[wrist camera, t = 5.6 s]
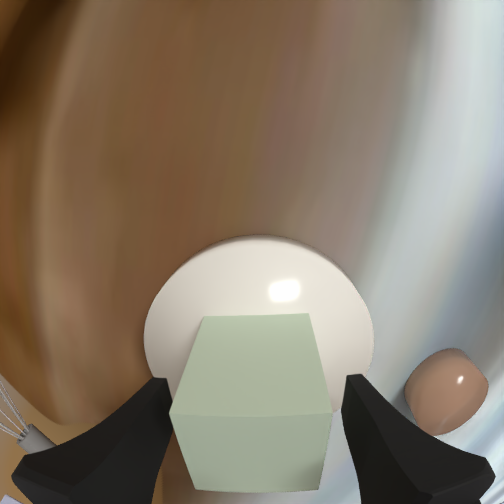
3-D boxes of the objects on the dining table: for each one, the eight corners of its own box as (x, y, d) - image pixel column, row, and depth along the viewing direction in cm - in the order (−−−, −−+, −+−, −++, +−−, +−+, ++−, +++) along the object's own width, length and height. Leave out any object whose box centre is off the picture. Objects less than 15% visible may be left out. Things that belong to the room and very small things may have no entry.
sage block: (308, 312, 13) (332, 412, 8) (305, 390, 15) (318, 489, 9) (204, 315, 14) (169, 413, 8) (215, 392, 15) (195, 489, 9)
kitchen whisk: (140, 514, 25) (127, 555, 19) (-72, 282, 18) (-113, 306, 11) (177, 512, 23) (166, 558, 17) (-60, 249, 16) (-110, 273, 10)
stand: (382, 245, 14) (398, 258, 12) (338, 413, 18) (343, 436, 16) (152, 225, 15) (137, 235, 13) (163, 400, 18) (155, 421, 16)
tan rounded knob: (477, 345, 16) (500, 370, 13) (450, 402, 18) (467, 429, 15) (418, 348, 16) (438, 378, 13) (393, 409, 18) (406, 440, 15)
